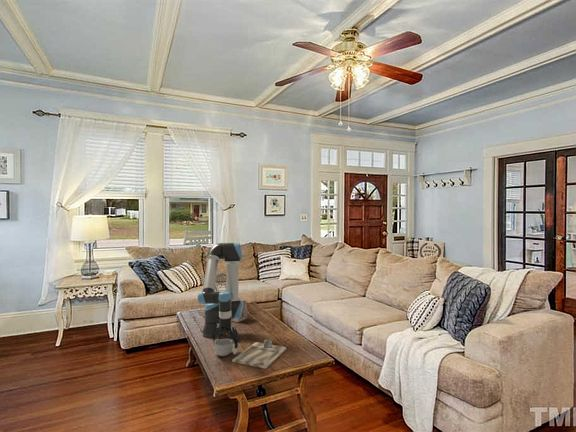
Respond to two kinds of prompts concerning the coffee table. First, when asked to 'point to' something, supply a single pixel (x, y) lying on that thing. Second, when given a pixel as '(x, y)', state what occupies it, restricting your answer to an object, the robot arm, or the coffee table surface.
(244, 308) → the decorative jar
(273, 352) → the carrier board
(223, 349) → the teacup
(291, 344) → the coffee table surface
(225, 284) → the geometric lantern
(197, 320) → the coffee table surface
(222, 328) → the robot arm
